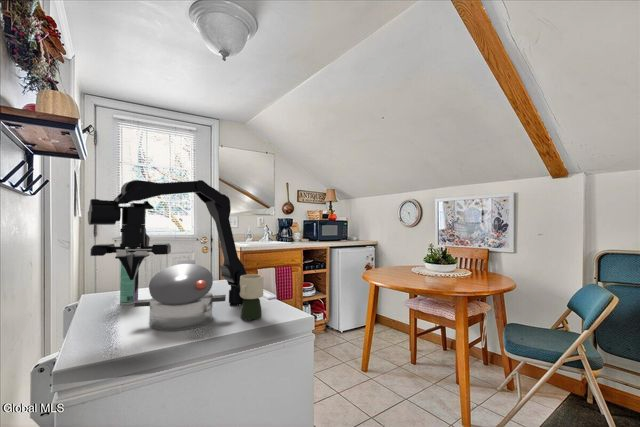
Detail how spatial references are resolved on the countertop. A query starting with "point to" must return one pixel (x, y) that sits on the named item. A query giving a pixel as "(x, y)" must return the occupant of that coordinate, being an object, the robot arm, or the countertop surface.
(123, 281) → the spray can
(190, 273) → the cooker lid
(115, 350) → the countertop surface
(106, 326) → the countertop surface
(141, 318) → the countertop surface
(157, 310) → the cooker pot
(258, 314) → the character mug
